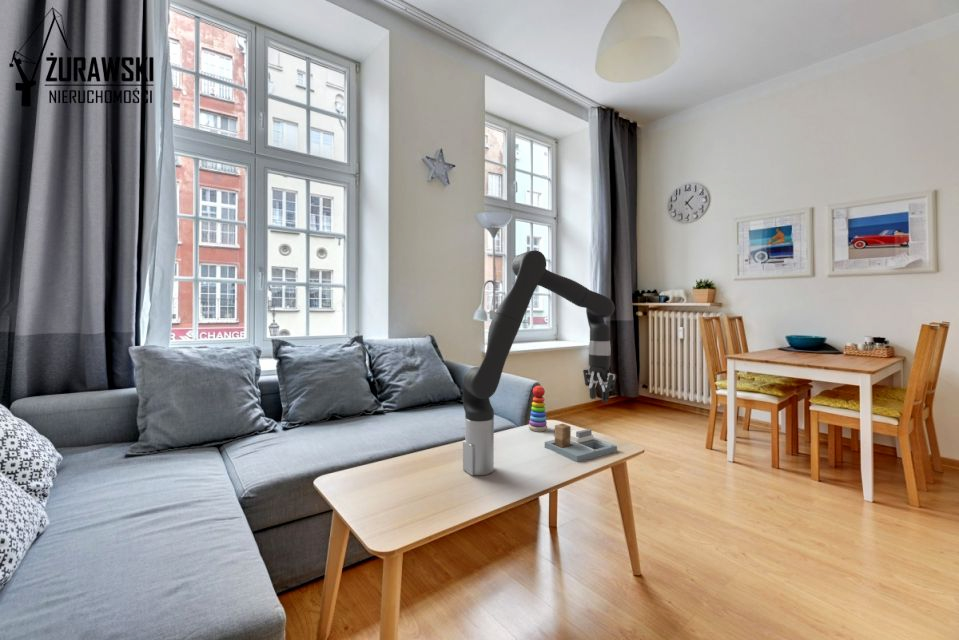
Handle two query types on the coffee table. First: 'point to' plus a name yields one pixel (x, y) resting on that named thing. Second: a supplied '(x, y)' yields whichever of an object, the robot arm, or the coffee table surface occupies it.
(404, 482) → the coffee table surface
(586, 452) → the puzzle board
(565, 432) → the walnut post
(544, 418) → the stacking toy
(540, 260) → the robot arm
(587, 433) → the lid
